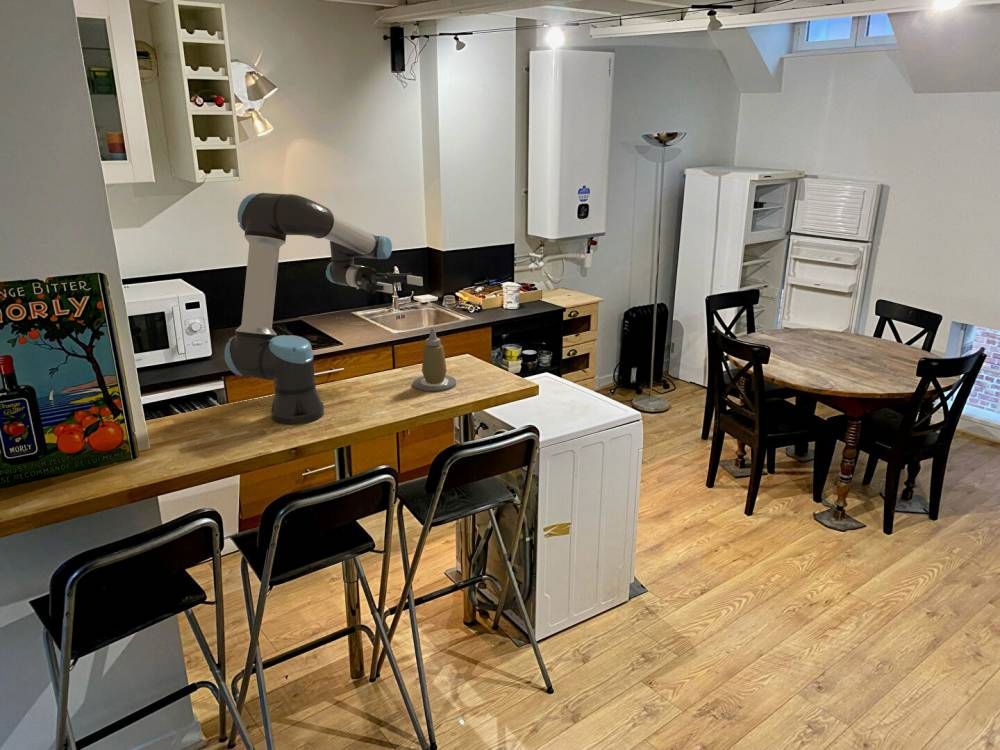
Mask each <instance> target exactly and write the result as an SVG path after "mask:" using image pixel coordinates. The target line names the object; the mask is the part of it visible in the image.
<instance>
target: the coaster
mask: <svg viewBox="0 0 1000 750" xmlns="http://www.w3.org/2000/svg"><path fill="white" fill-rule="evenodd" d="M412 383H413V388H414V389H416V390H418V391H422V392H428V393H430V392H431V393H436V392H437V393H438V392H444V391H449V390H451V389H453V388H455V387H456V386H457V380H456V378H455V377H454V376H451V375H445V378H444V381H443V382H441V383H437V384H430V383H427V382H426V380H425V378H424V375H422V376H419V377H417V378H415V379H414V380H413V382H412Z"/></svg>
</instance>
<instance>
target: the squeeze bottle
mask: <svg viewBox="0 0 1000 750" xmlns="http://www.w3.org/2000/svg"><path fill="white" fill-rule="evenodd" d="M422 351H423V352H422V362H421V363H422V364H421V365H422V367H421V373H422V376H424V378H425V380H426V382H427V383H430V384H437V383H441V382H443V381H444V378H445V375H446V374H447V371H448V370H447V364H446V357H445V348H444V346H443V345H442V344H441V338H439V337H437V333H436V328H434V327H430V332H429V337H428V338H426V339H425V345H424V346H423V349H422Z"/></svg>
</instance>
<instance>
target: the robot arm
mask: <svg viewBox="0 0 1000 750" xmlns="http://www.w3.org/2000/svg"><path fill="white" fill-rule="evenodd" d="M237 222H238V223H239V224H238V225H239V227H240V229H241V230H242V231H243V232H244V236H243V237H244V239H245V240H246V241H247V242H248V253H247V261H246V262H247V264H246V272H245V273H246V275H245V282H244V283H245V285H244V296H243V305H242V317H241V324H240V325H239V326H238V327H237V328H236V329H235V334H234V336H232V337H231V338H229V340H228V342H226V344H225V347H224V360H225V363H226V365H227V367H228V368H229V370H230V371H231V372H232V373H233V374H235V375H237V376H242V377H245V378H254V379H262V380H268V381H273V386H274V396H273V400H272V404H271V410H270V416H271V421H273V422H274V423H276V424H279V425H285V426H286V425H290V426H291V425H293V426H294V425H303V424H304V425H305V424H308V423H311V422H313V421H314V422H315V421H317V420H319V419H320V418H322V417H323V416H324V414H325V406H324V404H323V402H322V400H321V397H320V395H319V393H318V390H317V388H316V376H315V365H314V353H313V347H312V345H311V342H310V341H309V340H308V339H306V338H304V337H303V336H299V335H293V334H289V335H285V334H283V335H277V332H276V331H275V330H274V329H273V321H274V319H273V318H274V310H275V298H276V288H277V279H278V278H277V277H278V269H279V257H280V248H281V247H282V246H284V245H285V244H286V242H287V241H286V240H287V236H306V237H307V236H308V237H313V238H315V239H326V240H328V241H329V247H330V258H331V262H329V263H328V265H327V267H326V270H325V275H326V278H327V280H329V281H330V282H331V283H334V284H337V285H338V286H339V285H340V286H341V285H342V286H346V287H347V286H348V287H351V288H352V287H353V288H356V290H359V289H362V290H365V291H366V292H368V293H369V292H371V291H372V293H373V294H375V293H377V292H382V293H387V294H393V293H394V288H393V284H397V283H398V284H399V283H400V284H401V283H405V284H408V285H414V286H419V287H423V286H424V283H423V276H416V275H413V273H412V272H407V273H404V272H403V273H399V272H398V273H397V272H384V273H382V272H377V271H376V270H377V269H375V268H373V267H370V266H363V265H359V264H355V261H354V260H355V258H363V259H377V260H387V259H389V258H390V257H391V254H392V249H393V244H392V240H391V239H390V237H388V236H383V235H375V234H373V233H370V232H369V231H366V229H363V228H361V227H359V226H356V225H355V224H353V223H351V222H349V221H347V220H346V219H345V220H344V219H342V218H341V217H338V216H336V215H335V214H334V213H333V211H332V210H331V209H330V208H328V207H326V206H325V205H323V204H320V203H318V202H316V201H314V200H312V199H310V198H307V197H305V196H301V195H298V194H293V193H287V194H286V193H272V192H271V193H269V192H258V193H251V194H248V195H246V196H245V197H244V198H243V199H242V201H241V202H240V204H239V206H238V209H237ZM392 283H393V284H392Z"/></svg>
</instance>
